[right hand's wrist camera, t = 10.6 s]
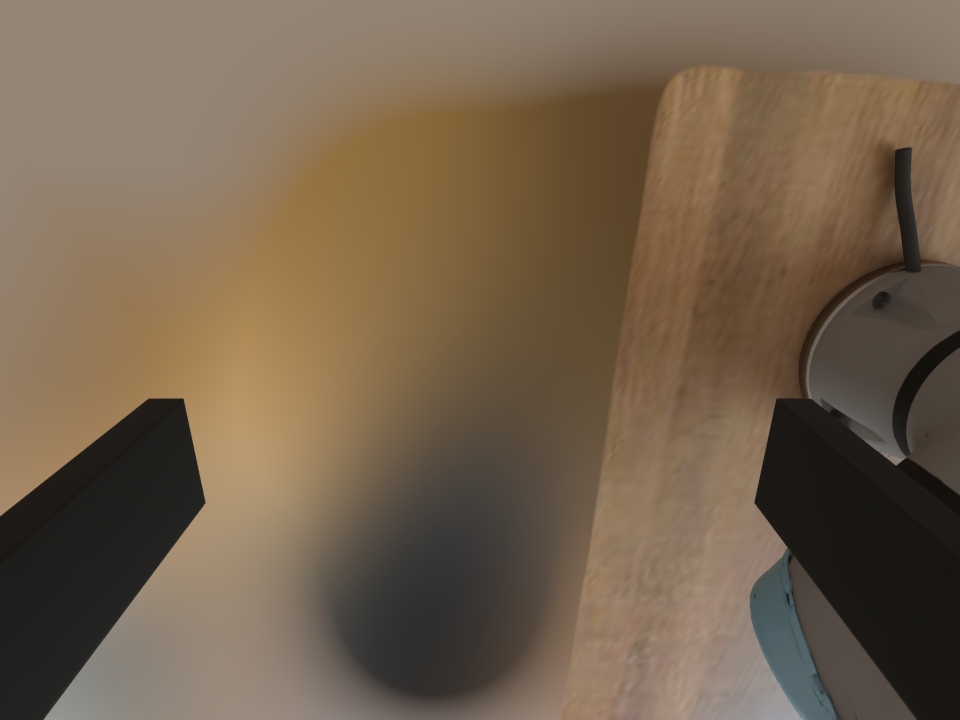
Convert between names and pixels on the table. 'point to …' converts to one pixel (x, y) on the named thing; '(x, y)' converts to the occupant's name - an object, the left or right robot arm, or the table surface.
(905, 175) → the right robot arm
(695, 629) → the table surface
